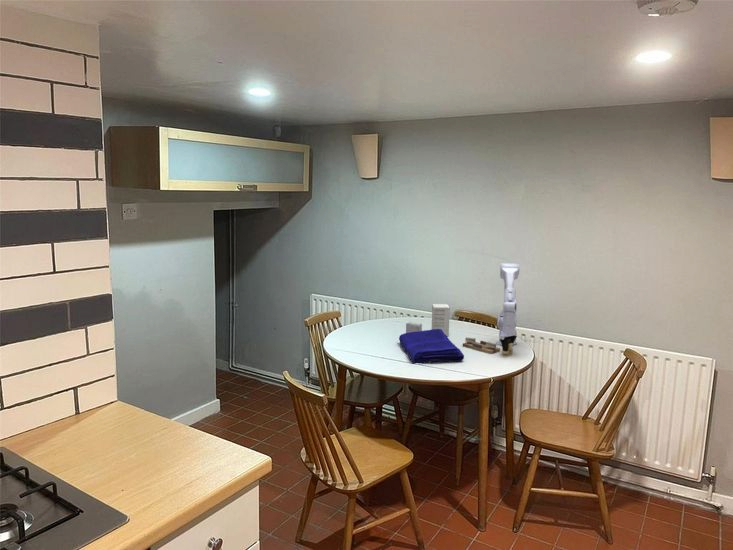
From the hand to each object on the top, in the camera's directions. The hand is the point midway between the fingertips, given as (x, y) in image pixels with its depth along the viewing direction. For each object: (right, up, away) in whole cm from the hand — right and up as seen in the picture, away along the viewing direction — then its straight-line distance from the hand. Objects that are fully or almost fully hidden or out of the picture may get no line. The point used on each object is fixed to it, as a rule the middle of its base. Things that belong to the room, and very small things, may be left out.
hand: (507, 350), depth 275 cm
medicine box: (-46, +3, +26) cm, 53 cm away
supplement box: (-30, +4, +35) cm, 46 cm away
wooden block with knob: (0, -2, 0) cm, 2 cm away
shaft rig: (-12, 0, +8) cm, 14 cm away
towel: (-40, -2, +2) cm, 40 cm away
